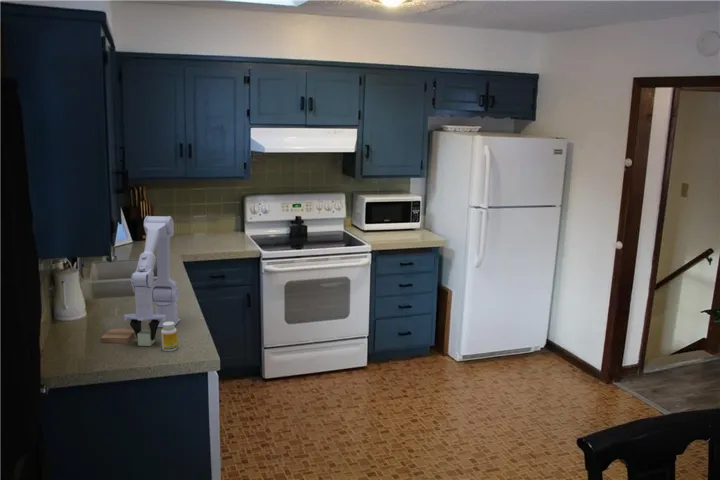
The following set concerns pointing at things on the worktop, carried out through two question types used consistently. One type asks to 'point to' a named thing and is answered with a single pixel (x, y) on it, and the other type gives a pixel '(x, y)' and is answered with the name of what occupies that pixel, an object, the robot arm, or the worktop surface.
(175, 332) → the supplement bottle
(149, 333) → the sage block
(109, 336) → the brown square pad
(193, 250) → the worktop surface
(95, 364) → the worktop surface
